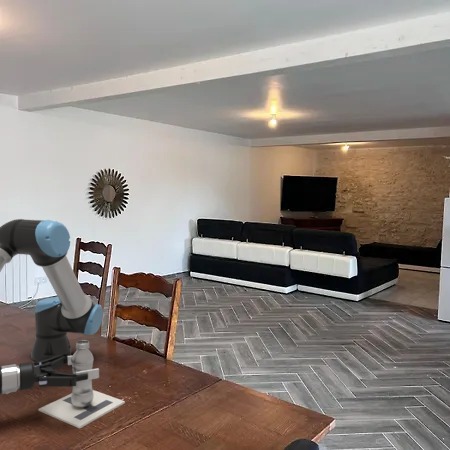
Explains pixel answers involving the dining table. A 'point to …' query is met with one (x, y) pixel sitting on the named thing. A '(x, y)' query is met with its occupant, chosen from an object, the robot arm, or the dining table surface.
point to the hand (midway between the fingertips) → (93, 364)
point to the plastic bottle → (82, 362)
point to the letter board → (81, 409)
